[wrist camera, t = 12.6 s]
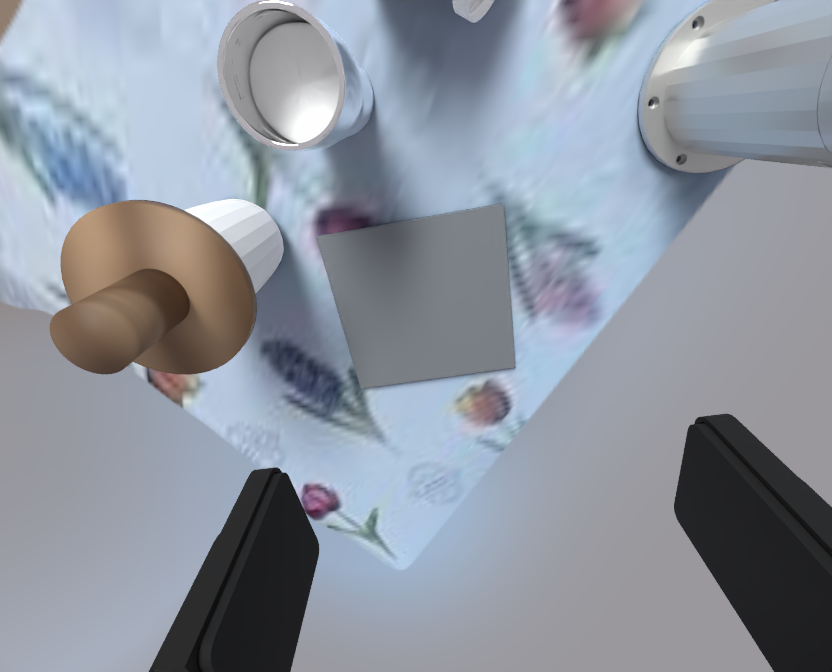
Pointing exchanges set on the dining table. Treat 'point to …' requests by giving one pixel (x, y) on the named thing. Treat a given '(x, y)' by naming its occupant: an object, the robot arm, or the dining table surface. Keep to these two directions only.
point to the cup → (246, 235)
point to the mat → (424, 296)
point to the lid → (151, 292)
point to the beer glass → (291, 78)
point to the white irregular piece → (472, 8)
